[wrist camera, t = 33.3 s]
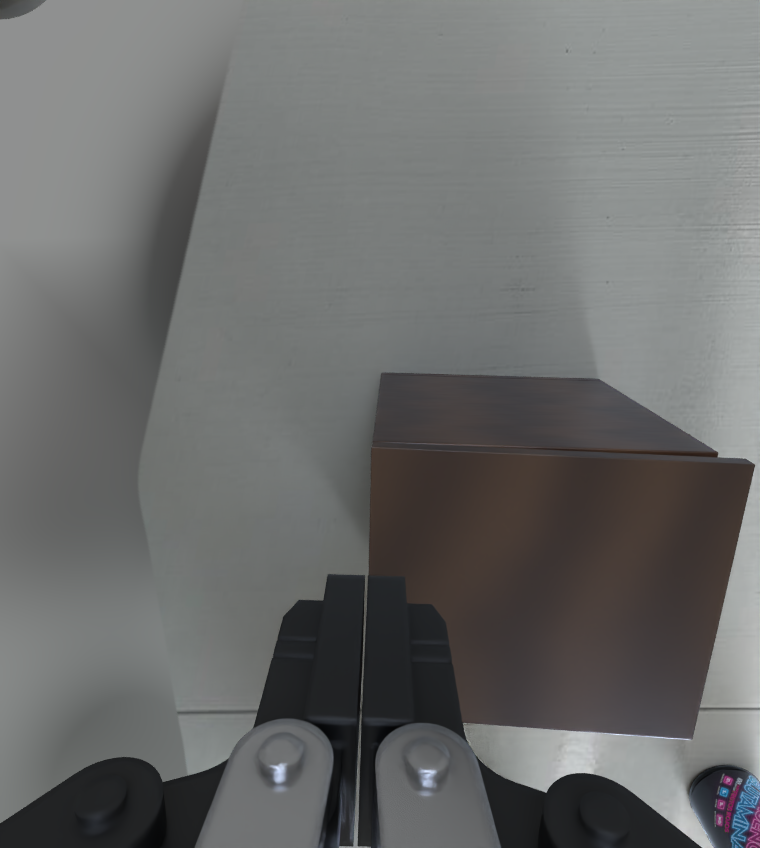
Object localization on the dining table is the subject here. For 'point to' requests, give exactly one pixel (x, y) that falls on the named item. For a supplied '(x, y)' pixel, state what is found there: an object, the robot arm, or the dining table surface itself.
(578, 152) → the dining table surface
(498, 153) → the dining table surface
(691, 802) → the supplement container
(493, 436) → the open brown box
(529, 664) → the lid
